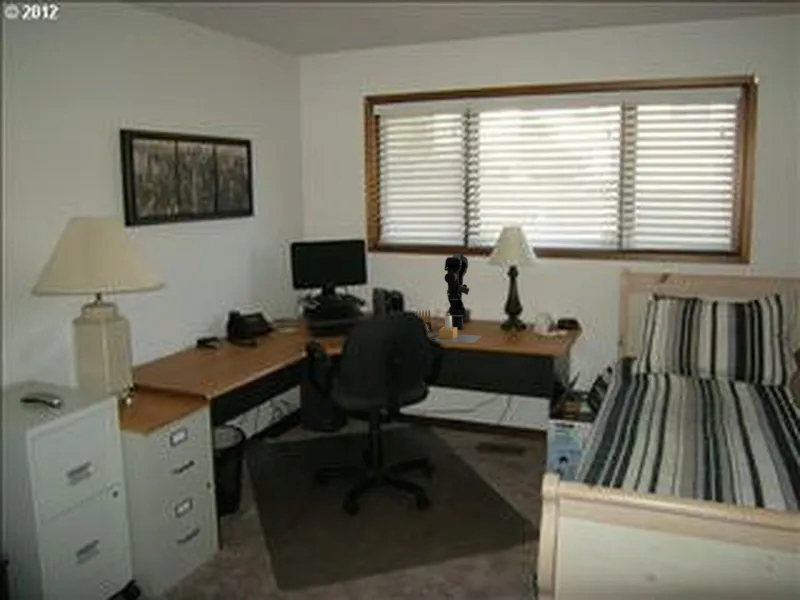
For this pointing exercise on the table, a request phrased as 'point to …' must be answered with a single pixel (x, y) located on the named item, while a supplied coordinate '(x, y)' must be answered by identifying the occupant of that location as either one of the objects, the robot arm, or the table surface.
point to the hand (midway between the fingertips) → (453, 309)
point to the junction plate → (455, 336)
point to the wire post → (448, 322)
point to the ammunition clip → (426, 318)
